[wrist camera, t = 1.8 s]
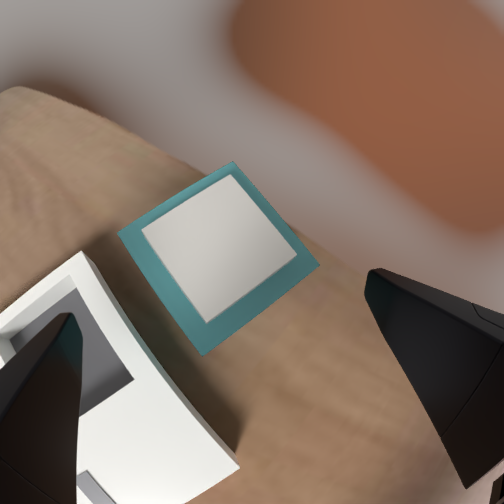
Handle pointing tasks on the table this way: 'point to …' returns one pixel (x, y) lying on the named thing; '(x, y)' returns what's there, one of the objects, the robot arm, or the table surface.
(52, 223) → the table surface
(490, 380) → the robot arm
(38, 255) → the table surface
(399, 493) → the table surface
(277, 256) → the plug
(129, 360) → the socket plate
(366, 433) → the table surface
